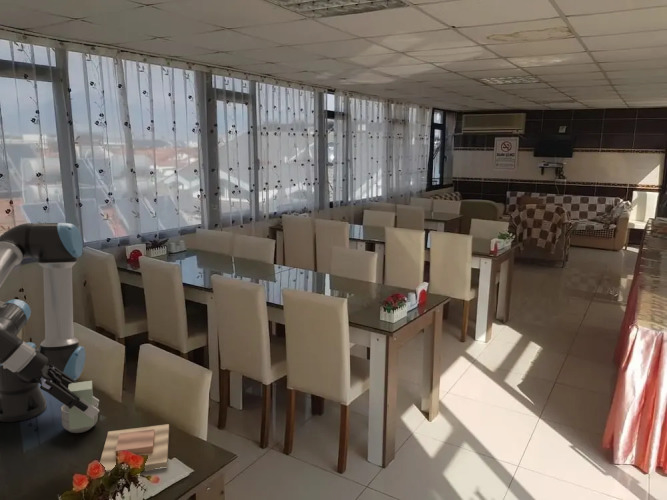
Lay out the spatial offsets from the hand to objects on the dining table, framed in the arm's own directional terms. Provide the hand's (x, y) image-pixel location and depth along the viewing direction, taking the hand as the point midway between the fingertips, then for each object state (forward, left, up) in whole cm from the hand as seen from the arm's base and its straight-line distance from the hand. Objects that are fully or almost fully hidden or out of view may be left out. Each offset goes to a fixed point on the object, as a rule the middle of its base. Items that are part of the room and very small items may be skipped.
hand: (95, 409), depth 147 cm
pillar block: (+1, -4, -3) cm, 5 cm away
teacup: (-19, -8, -15) cm, 25 cm away
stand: (-1, +10, -15) cm, 18 cm away
